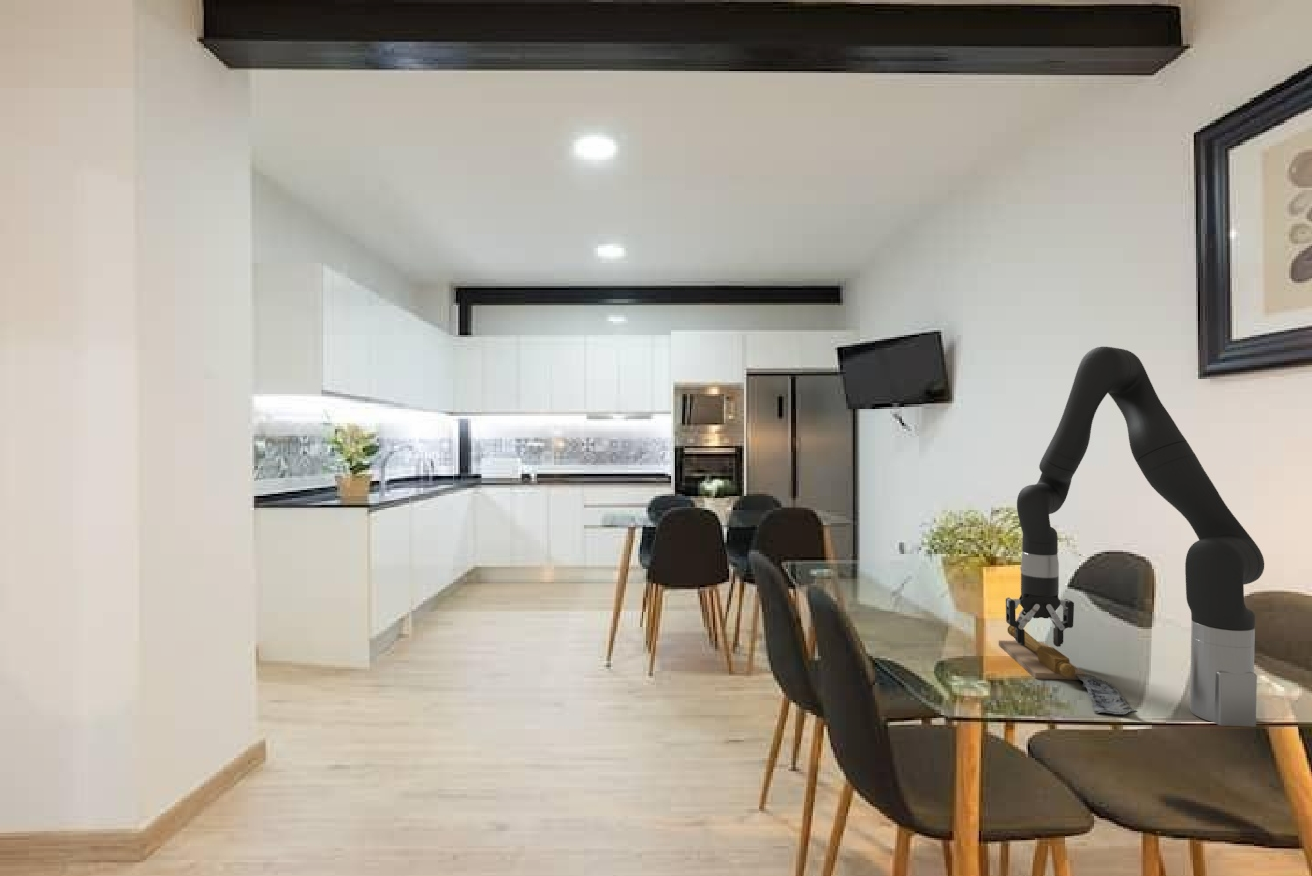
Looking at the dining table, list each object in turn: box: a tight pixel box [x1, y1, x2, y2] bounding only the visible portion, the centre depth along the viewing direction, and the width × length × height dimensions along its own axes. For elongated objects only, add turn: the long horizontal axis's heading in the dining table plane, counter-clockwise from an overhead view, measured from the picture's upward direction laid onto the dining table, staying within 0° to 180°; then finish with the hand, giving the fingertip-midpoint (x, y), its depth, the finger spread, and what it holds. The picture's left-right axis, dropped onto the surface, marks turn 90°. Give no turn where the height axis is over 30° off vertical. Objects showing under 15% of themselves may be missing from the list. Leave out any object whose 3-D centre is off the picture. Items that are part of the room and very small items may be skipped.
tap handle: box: [1007, 625, 1075, 677], centre depth 165 cm, size 3×3×30 cm
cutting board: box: [998, 639, 1086, 681], centre depth 164 cm, size 22×10×1 cm, turn 173°
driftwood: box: [1076, 673, 1138, 715], centre depth 144 cm, size 21×7×2 cm, turn 161°
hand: (1039, 644), depth 164 cm, fingers open, 7 cm apart
